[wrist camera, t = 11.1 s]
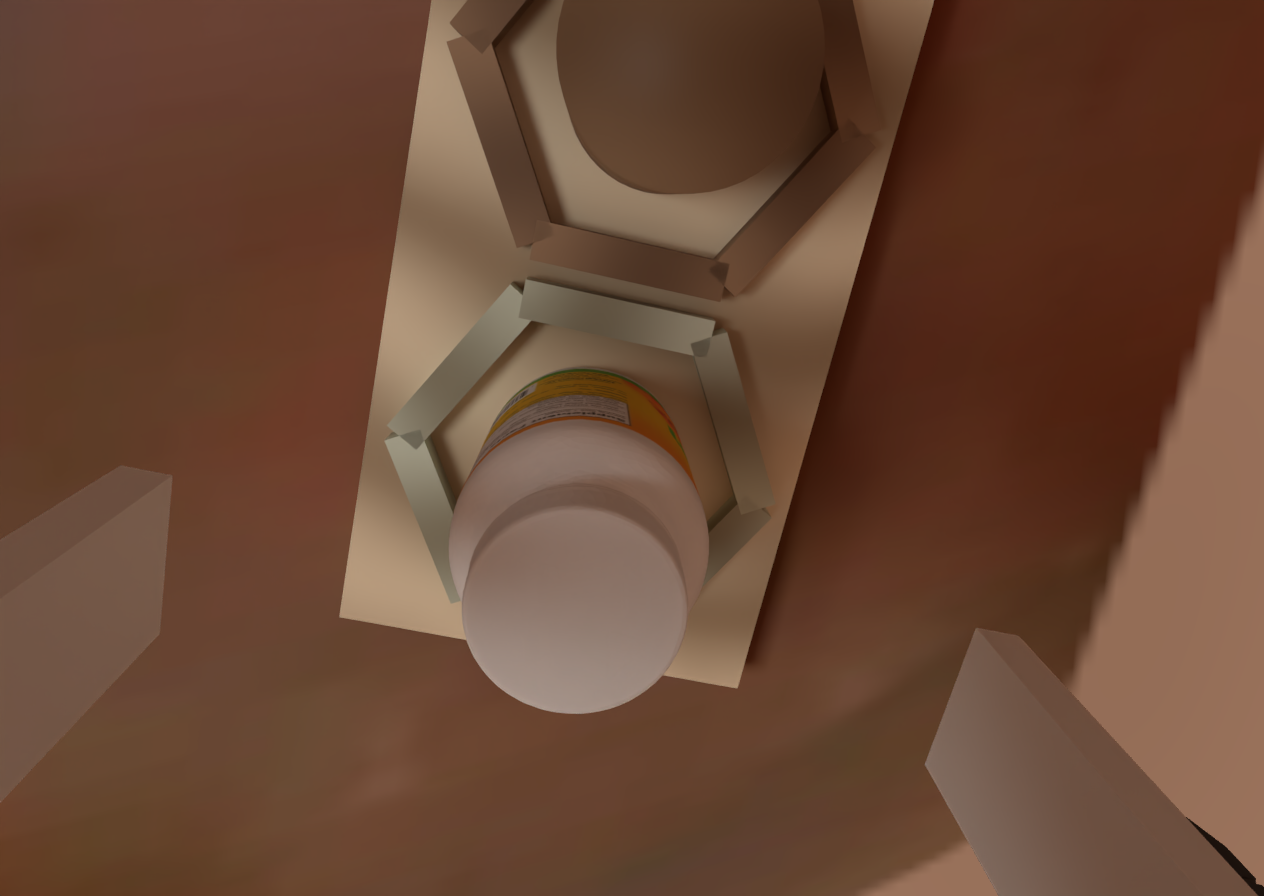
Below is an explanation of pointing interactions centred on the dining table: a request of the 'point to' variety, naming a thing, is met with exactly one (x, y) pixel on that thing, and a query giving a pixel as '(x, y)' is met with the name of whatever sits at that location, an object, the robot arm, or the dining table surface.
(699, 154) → the walnut dowel stub
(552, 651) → the supplement bottle
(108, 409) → the dining table surface
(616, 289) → the board
